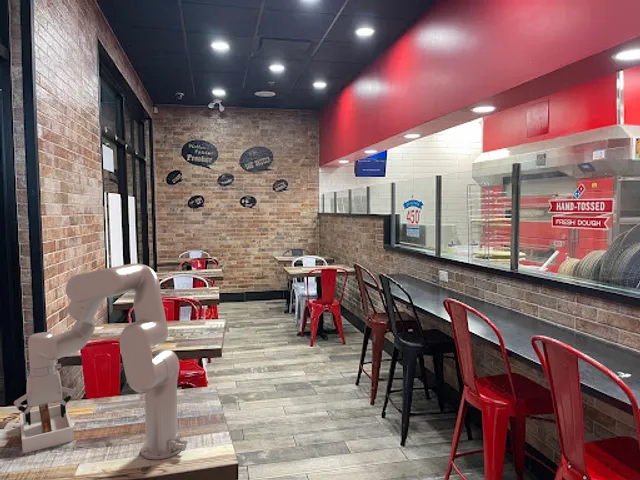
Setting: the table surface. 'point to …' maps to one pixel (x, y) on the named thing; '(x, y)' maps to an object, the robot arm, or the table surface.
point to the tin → (45, 418)
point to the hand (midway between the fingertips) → (46, 419)
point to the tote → (39, 440)
